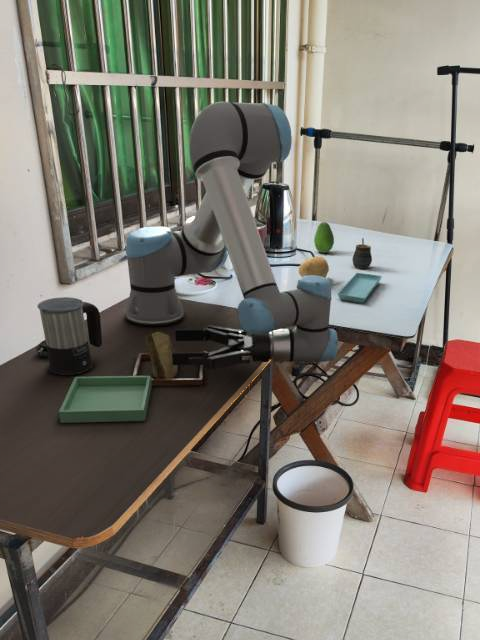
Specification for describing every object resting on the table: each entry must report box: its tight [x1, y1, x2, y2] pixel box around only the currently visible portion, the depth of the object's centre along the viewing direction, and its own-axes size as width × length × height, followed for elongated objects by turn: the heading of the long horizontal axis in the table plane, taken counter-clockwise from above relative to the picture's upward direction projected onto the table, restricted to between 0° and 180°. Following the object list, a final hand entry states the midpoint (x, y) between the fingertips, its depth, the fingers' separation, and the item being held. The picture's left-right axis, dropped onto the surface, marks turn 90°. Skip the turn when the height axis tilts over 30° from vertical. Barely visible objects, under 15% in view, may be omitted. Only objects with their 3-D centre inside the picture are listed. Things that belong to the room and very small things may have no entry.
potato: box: [298, 255, 330, 278], centre depth 201 cm, size 10×14×8 cm
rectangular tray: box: [337, 272, 383, 304], centre depth 195 cm, size 26×9×2 cm, turn 163°
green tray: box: [58, 375, 153, 424], centre depth 118 cm, size 15×15×2 cm
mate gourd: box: [351, 237, 373, 270], centre depth 220 cm, size 7×8×10 cm
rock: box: [145, 331, 179, 379], centre depth 132 cm, size 11×9×10 cm
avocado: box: [314, 221, 335, 254], centre depth 235 cm, size 8×8×12 cm
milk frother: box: [36, 296, 103, 376], centre depth 131 cm, size 14×16×15 cm
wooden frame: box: [132, 352, 204, 387], centre depth 133 cm, size 15×15×1 cm
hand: (173, 346), depth 130 cm, fingers open, 13 cm apart
